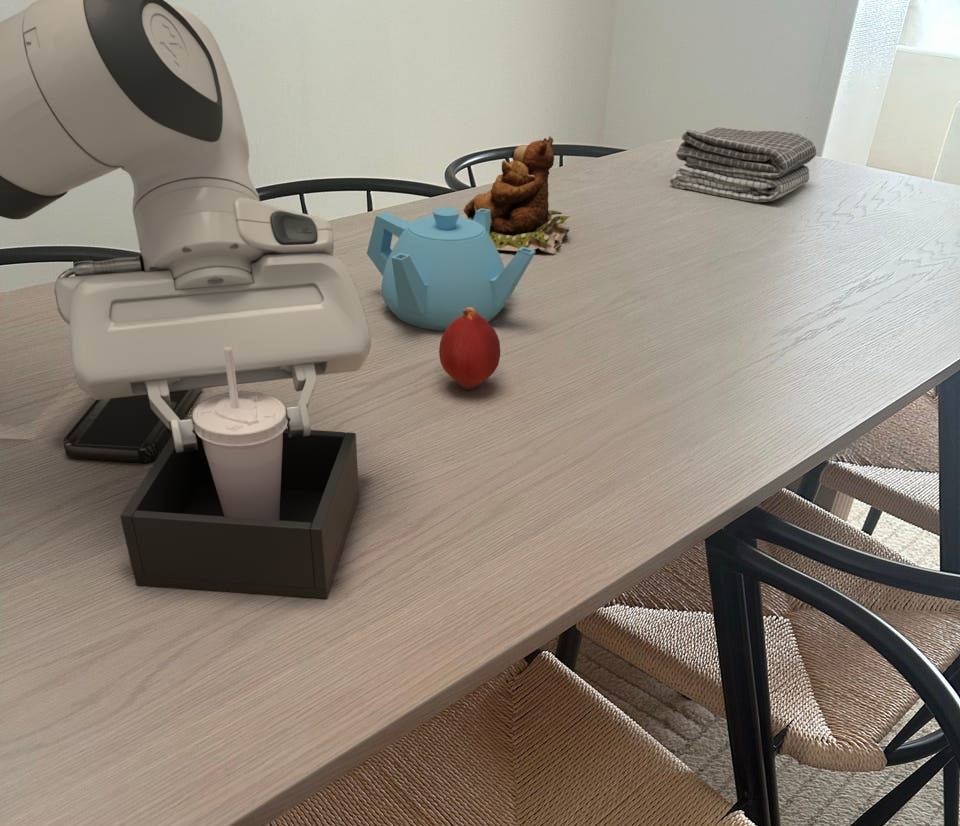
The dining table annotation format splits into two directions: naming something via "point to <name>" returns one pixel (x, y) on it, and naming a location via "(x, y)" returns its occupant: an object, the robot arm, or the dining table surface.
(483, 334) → the onion
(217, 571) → the black tray
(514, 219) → the bear figurine
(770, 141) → the towel
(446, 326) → the teapot
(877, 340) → the dining table surface
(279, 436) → the smoothie
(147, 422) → the phone
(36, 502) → the dining table surface
